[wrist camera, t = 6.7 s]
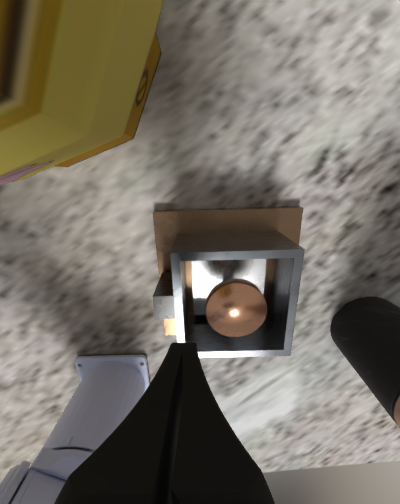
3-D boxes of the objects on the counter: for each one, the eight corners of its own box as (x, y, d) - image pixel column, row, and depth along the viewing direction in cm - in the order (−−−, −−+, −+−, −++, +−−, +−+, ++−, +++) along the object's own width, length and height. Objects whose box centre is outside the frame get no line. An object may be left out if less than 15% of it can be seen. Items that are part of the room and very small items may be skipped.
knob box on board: (285, 327, 24) (311, 373, 18) (166, 330, 24) (156, 378, 18) (299, 206, 20) (339, 218, 14) (154, 210, 20) (136, 224, 14)
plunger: (260, 309, 22) (278, 347, 17) (194, 311, 22) (192, 349, 17) (265, 245, 20) (287, 268, 15) (191, 248, 20) (188, 271, 15)
